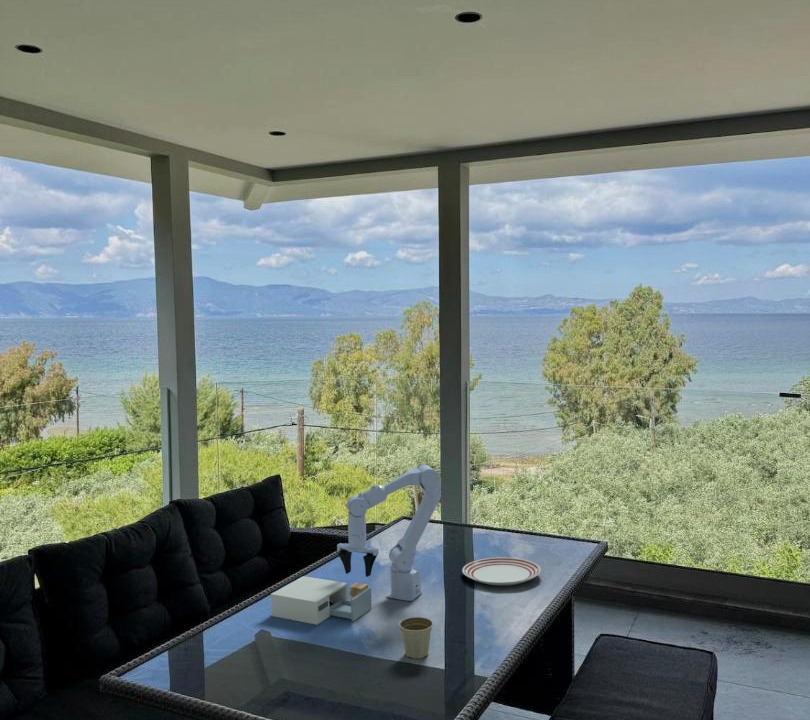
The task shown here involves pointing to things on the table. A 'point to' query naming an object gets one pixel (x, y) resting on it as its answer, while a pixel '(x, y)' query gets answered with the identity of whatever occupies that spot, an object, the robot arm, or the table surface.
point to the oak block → (357, 589)
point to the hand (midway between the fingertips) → (358, 574)
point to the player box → (307, 599)
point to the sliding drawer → (352, 606)
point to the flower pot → (416, 636)
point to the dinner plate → (501, 571)
